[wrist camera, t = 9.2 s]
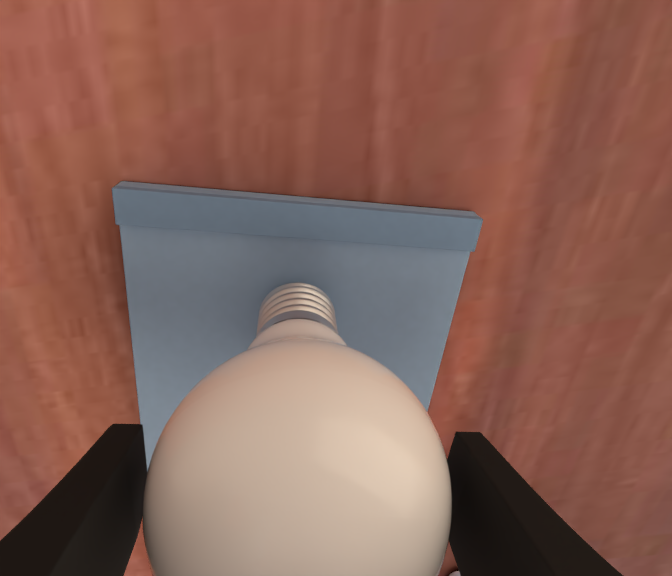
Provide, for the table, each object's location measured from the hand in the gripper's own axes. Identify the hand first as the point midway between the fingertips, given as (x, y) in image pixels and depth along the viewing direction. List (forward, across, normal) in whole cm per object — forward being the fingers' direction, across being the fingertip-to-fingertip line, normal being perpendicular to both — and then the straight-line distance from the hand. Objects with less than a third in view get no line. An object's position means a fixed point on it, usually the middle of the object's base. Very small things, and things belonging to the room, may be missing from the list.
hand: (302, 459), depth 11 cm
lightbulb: (+7, 0, 0) cm, 7 cm away
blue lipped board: (+8, 0, +6) cm, 10 cm away
